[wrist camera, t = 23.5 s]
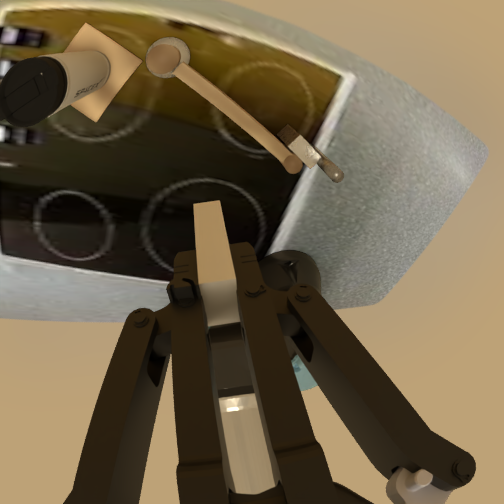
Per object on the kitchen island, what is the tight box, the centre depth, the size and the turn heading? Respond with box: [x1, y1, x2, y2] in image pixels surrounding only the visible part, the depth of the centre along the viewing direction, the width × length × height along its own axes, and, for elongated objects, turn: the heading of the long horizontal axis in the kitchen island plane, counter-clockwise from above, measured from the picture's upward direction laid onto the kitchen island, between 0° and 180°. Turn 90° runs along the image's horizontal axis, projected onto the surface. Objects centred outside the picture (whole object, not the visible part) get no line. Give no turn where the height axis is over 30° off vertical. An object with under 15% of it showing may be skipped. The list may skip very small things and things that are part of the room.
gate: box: [146, 44, 303, 174], centre depth 36 cm, size 4×25×8 cm, turn 46°
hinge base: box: [146, 37, 190, 78], centre depth 34 cm, size 6×6×1 cm
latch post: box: [277, 124, 344, 183], centre depth 42 cm, size 3×7×11 cm, turn 45°
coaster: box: [64, 23, 143, 122], centre depth 33 cm, size 11×11×1 cm
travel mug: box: [0, 51, 111, 127], centre depth 25 cm, size 6×7×20 cm
